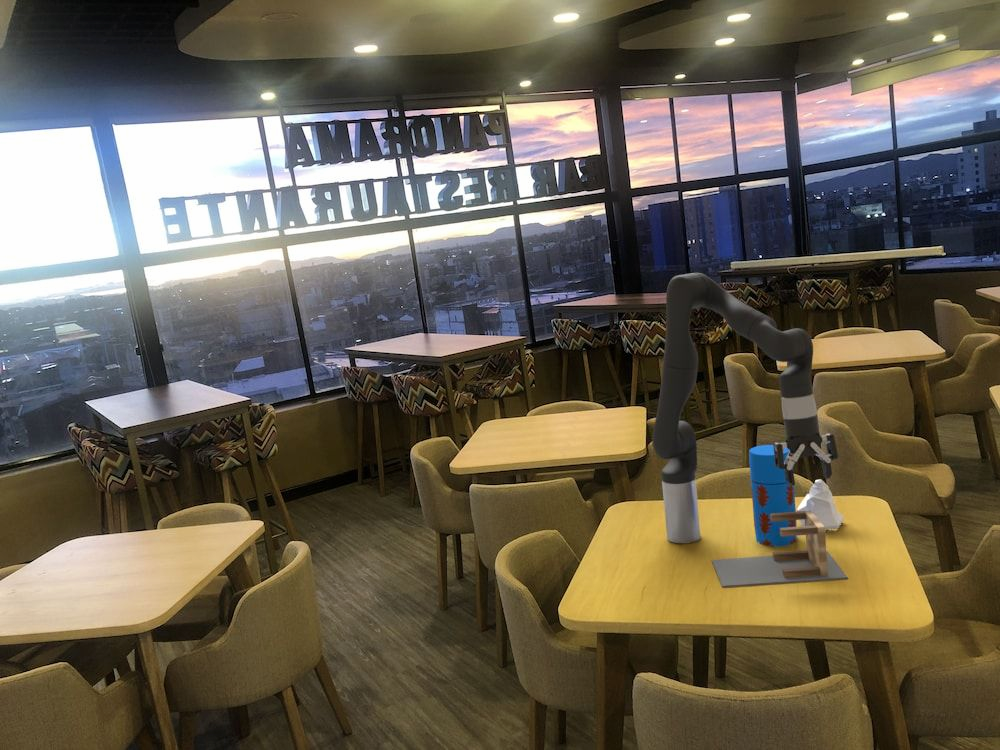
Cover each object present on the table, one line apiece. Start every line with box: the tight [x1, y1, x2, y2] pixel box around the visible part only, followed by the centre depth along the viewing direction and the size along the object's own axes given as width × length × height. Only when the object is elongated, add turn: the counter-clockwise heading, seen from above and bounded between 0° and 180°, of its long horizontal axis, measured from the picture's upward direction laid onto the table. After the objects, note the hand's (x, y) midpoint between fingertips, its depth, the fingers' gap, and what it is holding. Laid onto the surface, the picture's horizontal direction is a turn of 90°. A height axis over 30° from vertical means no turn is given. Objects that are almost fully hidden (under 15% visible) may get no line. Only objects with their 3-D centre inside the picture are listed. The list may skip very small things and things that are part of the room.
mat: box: [711, 550, 849, 588], centre depth 199 cm, size 16×29×1 cm, turn 84°
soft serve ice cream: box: [796, 478, 845, 530], centre depth 224 cm, size 12×15×14 cm
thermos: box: [748, 444, 798, 547], centre depth 217 cm, size 11×11×25 cm
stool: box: [770, 510, 828, 578], centre depth 198 cm, size 12×10×12 cm
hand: (809, 481), depth 190 cm, fingers open, 8 cm apart
